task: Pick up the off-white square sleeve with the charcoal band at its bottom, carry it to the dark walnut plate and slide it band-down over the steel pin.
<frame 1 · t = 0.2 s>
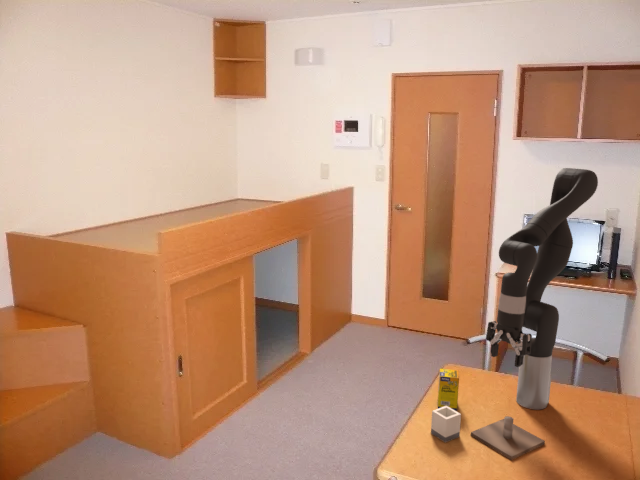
hand: (505, 361, 165), 18 cm above the table, tool pointing down, fingers open, 8 cm apart
pin plate: (507, 439, 156), on the table
sleeve: (445, 434, 158), on the table
supplement box: (447, 406, 175), on the table
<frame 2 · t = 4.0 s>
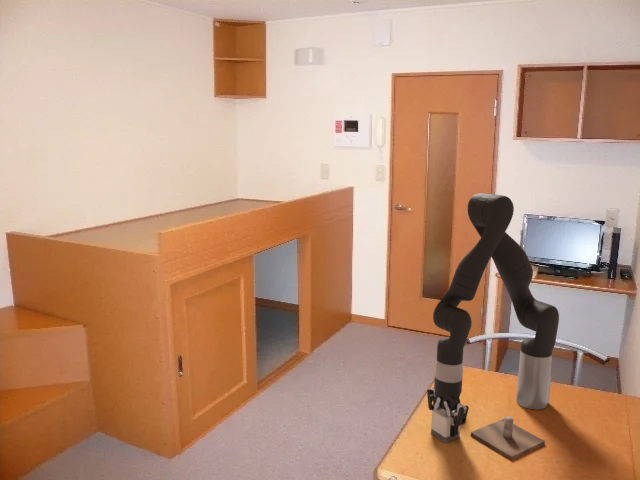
hand: (445, 430, 158), 1 cm above the table, tool pointing down, fingers closed on sleeve, 5 cm apart
sleeve: (445, 435, 158), on the table, touching gripper
everything else where it was.
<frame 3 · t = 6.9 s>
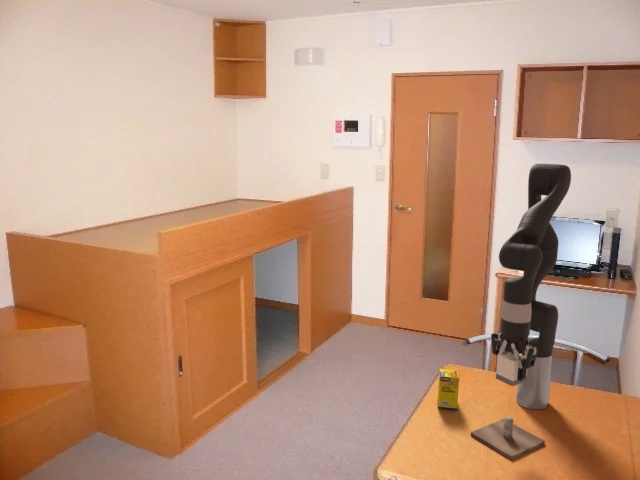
hand: (511, 375, 152), 19 cm above the table, tool pointing down, fingers closed on sleeve, 5 cm apart
sleeve: (510, 379, 152), point 18 cm above the table, touching gripper
everything else where it was.
when the fingers open (4 cm above the table, at t = 10.0 s): sleeve drops 1 cm, resting on pin plate.
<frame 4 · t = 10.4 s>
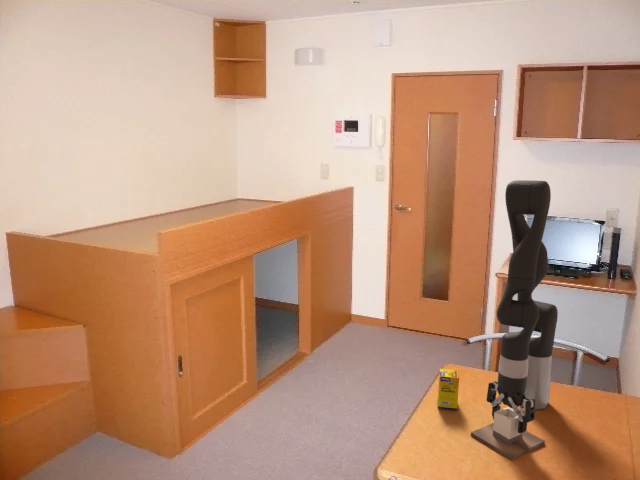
hand: (508, 425, 155), 4 cm above the table, tool pointing down, fingers open, 8 cm apart
sleeve: (507, 436, 156), point 1 cm above the table, touching pin plate
everything else where it was.
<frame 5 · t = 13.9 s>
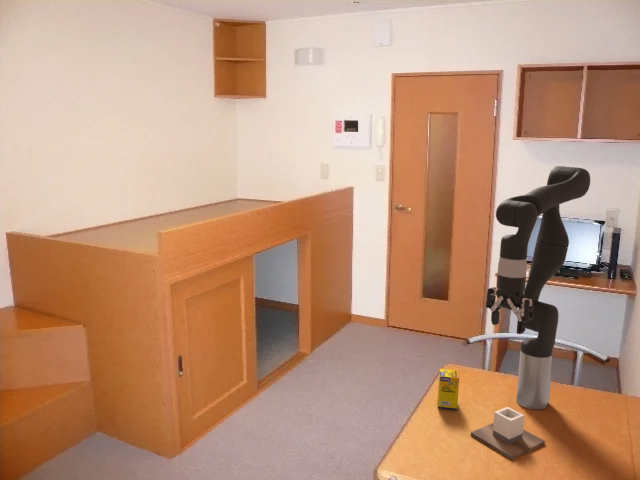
hand: (507, 328, 157), 30 cm above the table, tool pointing down, fingers open, 8 cm apart
nothing on the table moved.
at the end: sleeve 0.1 cm off-centre on the pin plate, point 1.0 cm above the pin plate's base; sleeve tilted 0°; the gripper is holding nothing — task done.
